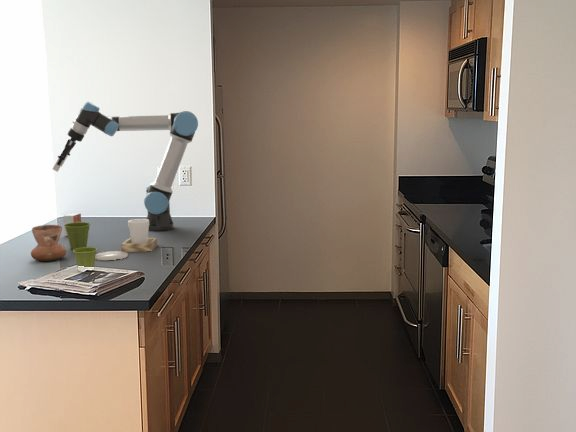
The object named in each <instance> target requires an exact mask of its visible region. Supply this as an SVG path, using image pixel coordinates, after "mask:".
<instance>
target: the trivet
mask: <svg viewBox="0 0 576 432" xmlns="http://www.w3.org/2000/svg"><path fill="white" fill-rule="evenodd" d="M128 253H129V252H122V250H119V251H118V250H115V251H114V250H112V251H111V250H110V251H101V252H99V253H96V255H95V260H96V259H98V260H97V261H100V260H114V261H117V260H116V259H120V260H124V259H126V257H127V258H128V256H129V254H128ZM123 258H124V259H123Z"/></svg>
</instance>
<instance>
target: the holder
mask: <svg viewBox="0 0 576 432" xmlns="http://www.w3.org/2000/svg"><path fill="white" fill-rule="evenodd" d="M120 244H121V245H120V246H121V251H122V252H126V253H131V252H132V253H133V252H134V253H135V252H137V253H138V252H140V253H141V252H144V253H145V252H146V251H151V252H153V250H154V249H156V247H158V238H157V237H148V242H147V243H143V244H132V241H131V237H128V238H127V239H125V240H124V241H123V242H122V243H120Z"/></svg>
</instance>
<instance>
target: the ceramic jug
mask: <svg viewBox="0 0 576 432" xmlns="http://www.w3.org/2000/svg"><path fill="white" fill-rule="evenodd" d="M62 230H63V227H62V226H61V225H58V224H44V225H36V226H33V227H32V228H31V232H32V235H33V237H34V240H35V241H36V244H37V245H36V246H35V247H34V248H32V250H31V252H30V255H31V256H30V257H31V258H32V259H33V260H36V261H37V262H38V261H39V262H53V261H56V260H59V259H62V258H64V256H66V254H67V248H66V247H64V246H63V245H62V244H59V241H60V239H61V235H62V232H63V231H62Z"/></svg>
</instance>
